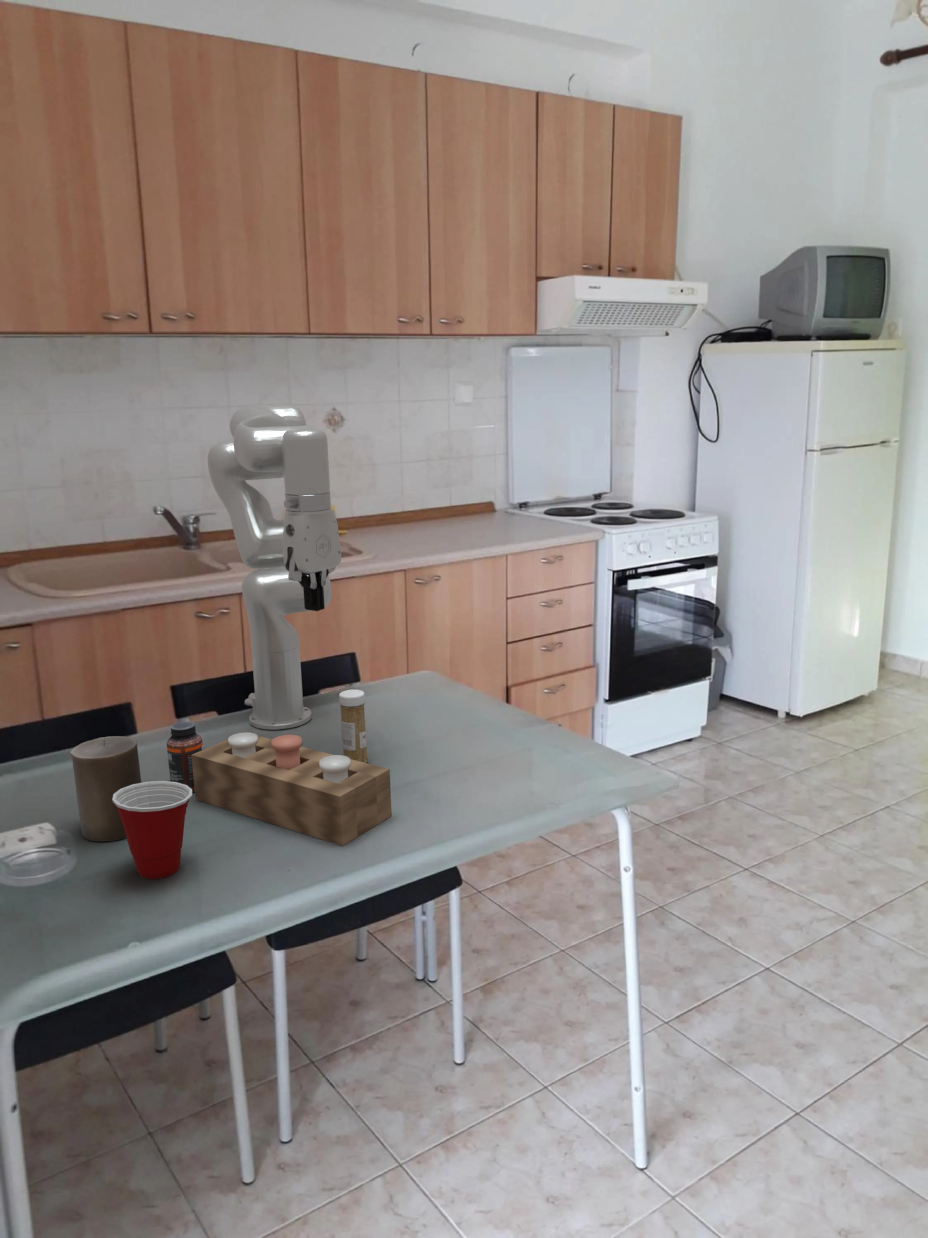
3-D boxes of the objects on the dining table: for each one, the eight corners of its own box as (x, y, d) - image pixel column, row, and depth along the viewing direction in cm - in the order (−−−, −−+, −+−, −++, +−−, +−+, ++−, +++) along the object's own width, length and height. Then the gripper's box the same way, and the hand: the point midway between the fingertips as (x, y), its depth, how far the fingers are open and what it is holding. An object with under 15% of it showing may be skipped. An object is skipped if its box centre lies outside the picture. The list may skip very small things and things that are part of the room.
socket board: (195, 799, 164) (191, 754, 162) (247, 775, 173) (244, 732, 171) (342, 846, 146) (340, 796, 145) (391, 815, 156) (389, 769, 154)
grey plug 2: (316, 822, 154) (312, 763, 151) (336, 811, 158) (333, 753, 155) (339, 829, 151) (336, 769, 149) (359, 817, 155) (356, 758, 153)
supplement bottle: (213, 782, 171) (207, 720, 168) (195, 795, 165) (189, 732, 162) (182, 778, 172) (177, 718, 170) (164, 792, 167) (157, 730, 164)
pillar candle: (152, 832, 152) (142, 741, 149) (86, 848, 147) (74, 754, 144) (139, 810, 160) (129, 723, 157) (76, 824, 156) (65, 735, 152)
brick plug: (269, 800, 159) (265, 742, 156) (289, 789, 163) (286, 732, 160) (291, 806, 156) (287, 747, 154) (311, 795, 160) (308, 738, 158)
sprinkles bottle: (372, 764, 177) (369, 693, 174) (349, 770, 175) (346, 698, 171) (360, 756, 181) (357, 686, 177) (338, 762, 178) (334, 691, 175)
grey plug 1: (226, 795, 165) (221, 739, 162) (247, 785, 168) (243, 730, 166) (247, 801, 162) (242, 744, 160) (267, 791, 166) (263, 735, 163)
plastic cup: (214, 866, 141) (207, 789, 138) (147, 896, 133) (138, 815, 130) (172, 844, 148) (165, 770, 145) (106, 871, 140) (97, 794, 138)
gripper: (294, 510, 157) (301, 621, 161) (354, 499, 169) (358, 603, 174) (260, 507, 161) (268, 616, 165) (321, 497, 173) (326, 598, 178)
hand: (314, 609), depth 169 cm, fingers closed
